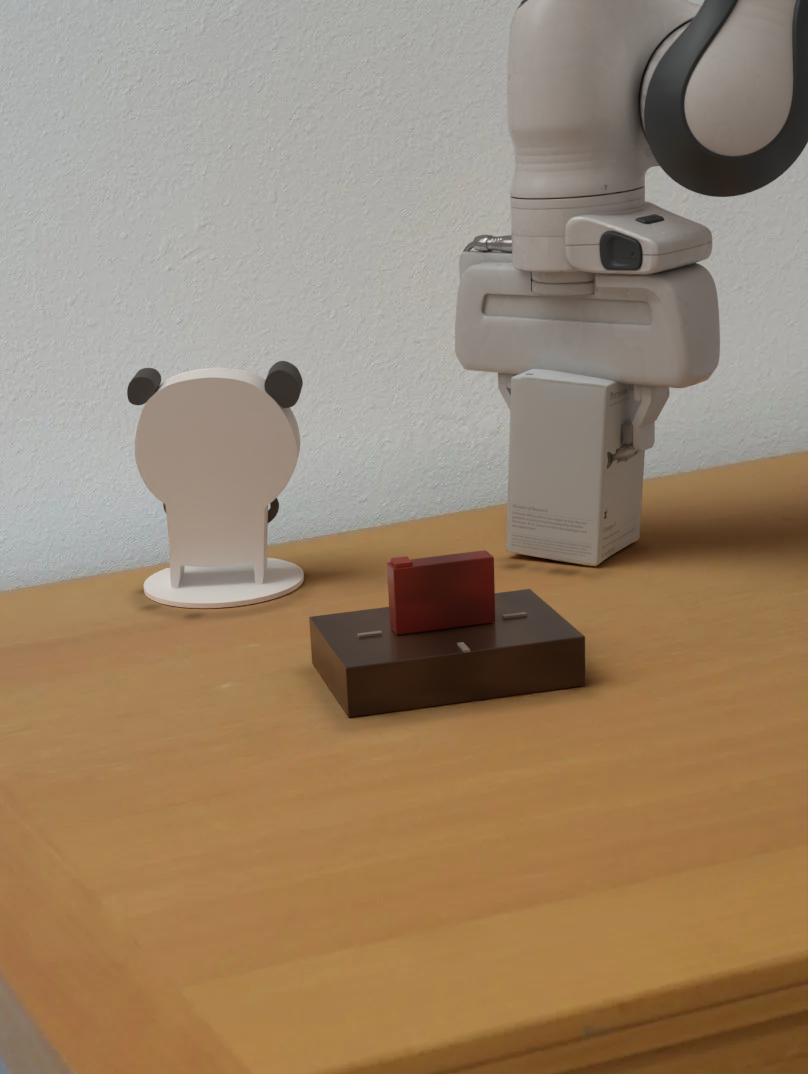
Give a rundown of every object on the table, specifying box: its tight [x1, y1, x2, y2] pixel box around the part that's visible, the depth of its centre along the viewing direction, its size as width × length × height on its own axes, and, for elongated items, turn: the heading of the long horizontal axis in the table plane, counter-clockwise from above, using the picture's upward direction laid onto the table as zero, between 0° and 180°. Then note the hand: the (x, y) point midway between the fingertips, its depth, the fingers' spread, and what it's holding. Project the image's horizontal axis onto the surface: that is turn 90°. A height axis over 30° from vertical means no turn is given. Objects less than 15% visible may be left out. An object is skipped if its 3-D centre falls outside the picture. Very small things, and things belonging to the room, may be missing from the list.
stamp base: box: [308, 588, 586, 718], centre depth 108 cm, size 14×10×3 cm
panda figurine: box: [126, 360, 305, 609], centre depth 126 cm, size 12×11×15 cm
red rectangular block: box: [386, 549, 496, 635], centre depth 106 cm, size 6×2×4 cm, turn 101°
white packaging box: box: [505, 369, 646, 567], centre depth 127 cm, size 7×7×13 cm
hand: (582, 442), depth 127 cm, fingers open, 8 cm apart
